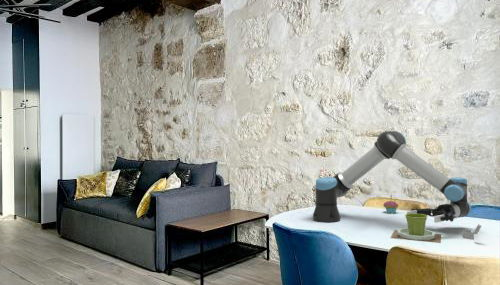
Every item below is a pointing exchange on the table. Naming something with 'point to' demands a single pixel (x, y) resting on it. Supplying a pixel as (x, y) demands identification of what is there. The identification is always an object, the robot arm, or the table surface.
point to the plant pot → (416, 223)
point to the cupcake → (391, 206)
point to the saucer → (427, 235)
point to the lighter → (471, 233)
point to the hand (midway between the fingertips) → (420, 217)
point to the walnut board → (435, 240)
